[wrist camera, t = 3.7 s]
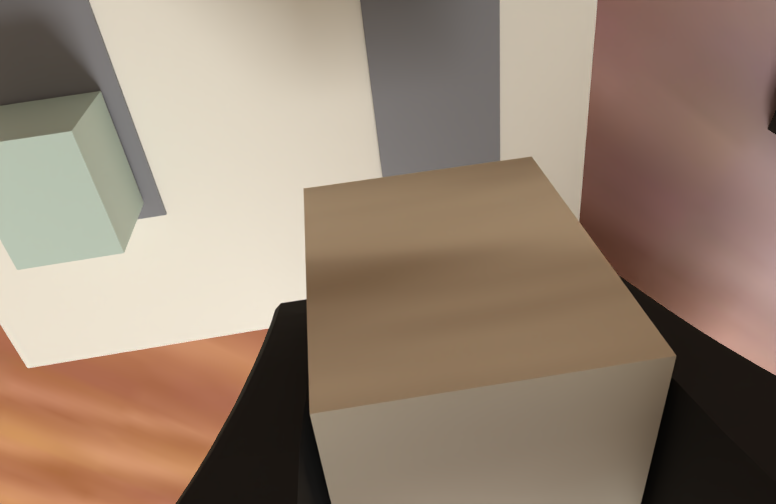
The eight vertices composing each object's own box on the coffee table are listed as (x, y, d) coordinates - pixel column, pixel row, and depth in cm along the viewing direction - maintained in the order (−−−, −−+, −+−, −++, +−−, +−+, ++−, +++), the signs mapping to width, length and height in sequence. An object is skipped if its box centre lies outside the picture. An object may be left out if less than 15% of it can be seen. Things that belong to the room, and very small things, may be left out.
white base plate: (557, 250, 21) (575, 279, 19) (44, 335, 20) (26, 370, 19) (591, -305, 13) (626, -320, 11) (-263, -199, 12) (-332, -201, 11)
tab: (143, 202, 16) (123, 253, 14) (49, 217, 16) (17, 270, 14) (100, 90, 14) (71, 130, 12) (-6, 106, 14) (-51, 149, 12)
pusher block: (524, 327, 13) (628, 554, 9) (335, 356, 13) (354, 602, 9) (531, 156, 11) (676, 355, 7) (303, 188, 11) (309, 414, 7)
